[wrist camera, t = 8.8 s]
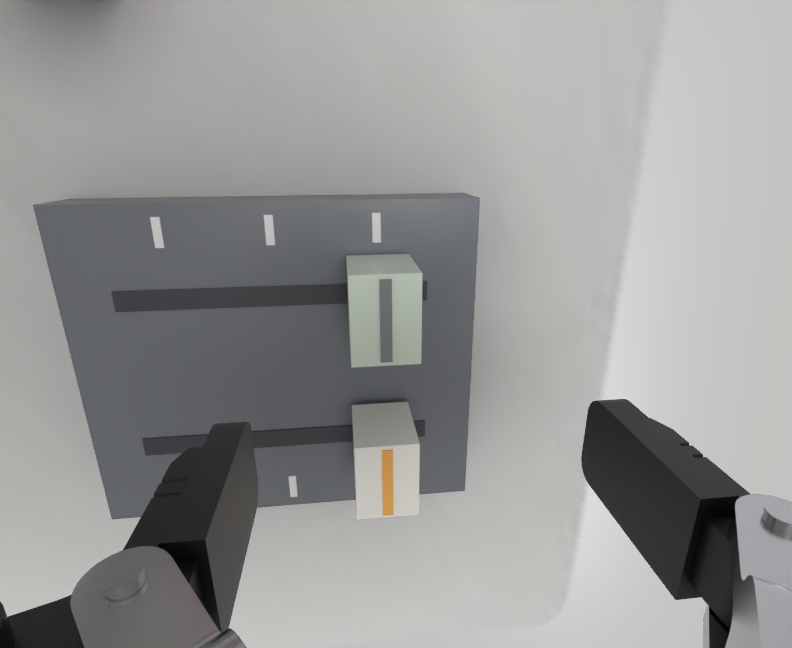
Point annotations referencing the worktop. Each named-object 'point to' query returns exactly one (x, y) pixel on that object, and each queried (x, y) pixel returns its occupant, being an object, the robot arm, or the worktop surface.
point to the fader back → (385, 460)
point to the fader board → (257, 332)
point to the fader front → (384, 310)
